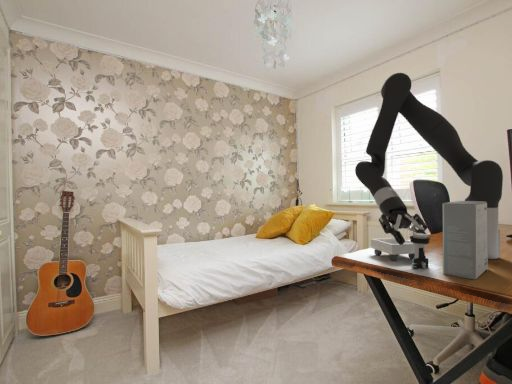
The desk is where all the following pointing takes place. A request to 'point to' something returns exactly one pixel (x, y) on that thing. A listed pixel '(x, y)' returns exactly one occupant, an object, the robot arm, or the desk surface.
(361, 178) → the robot arm
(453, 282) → the desk surface
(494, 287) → the desk surface
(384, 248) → the parts trolley
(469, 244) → the hard drive box
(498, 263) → the desk surface
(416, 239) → the push button
